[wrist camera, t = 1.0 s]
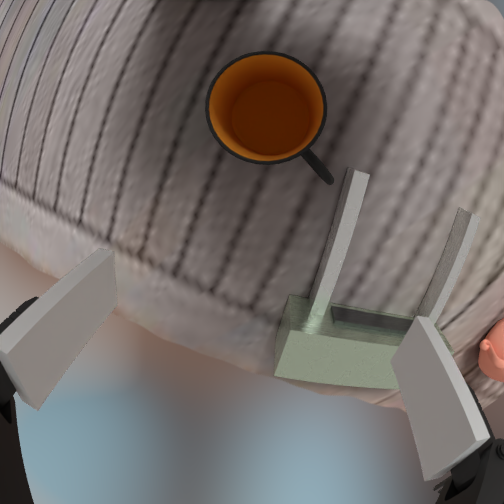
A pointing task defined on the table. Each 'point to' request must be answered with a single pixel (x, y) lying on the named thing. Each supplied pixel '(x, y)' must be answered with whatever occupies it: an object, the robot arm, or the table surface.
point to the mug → (268, 110)
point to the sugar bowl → (493, 353)
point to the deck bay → (358, 309)
